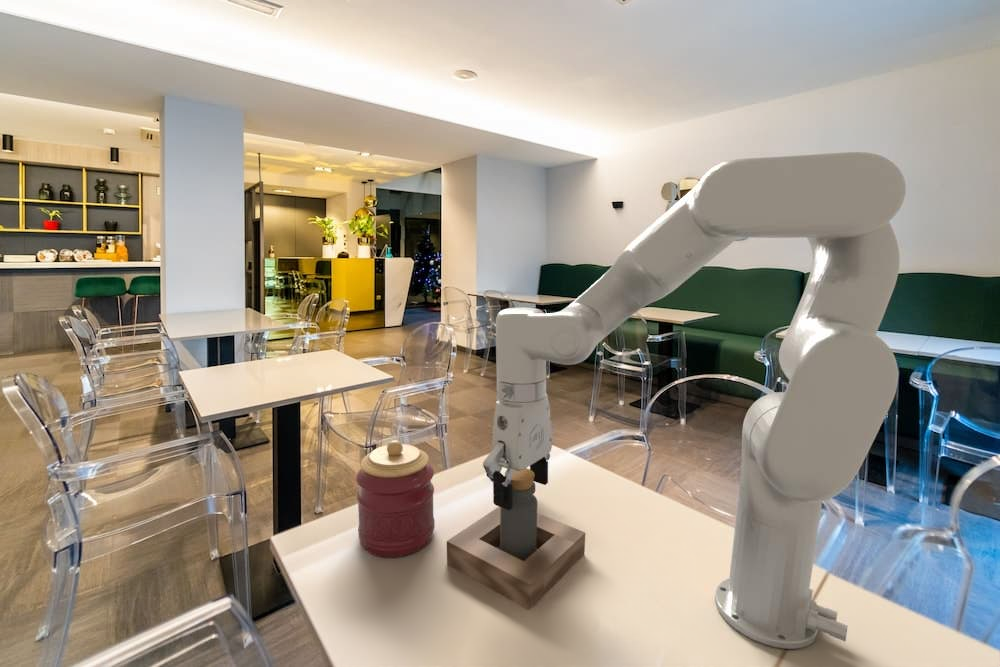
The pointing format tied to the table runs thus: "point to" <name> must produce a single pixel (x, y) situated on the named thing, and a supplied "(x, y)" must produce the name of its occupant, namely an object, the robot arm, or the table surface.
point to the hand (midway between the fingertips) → (521, 493)
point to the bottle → (520, 517)
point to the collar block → (508, 573)
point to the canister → (395, 500)
